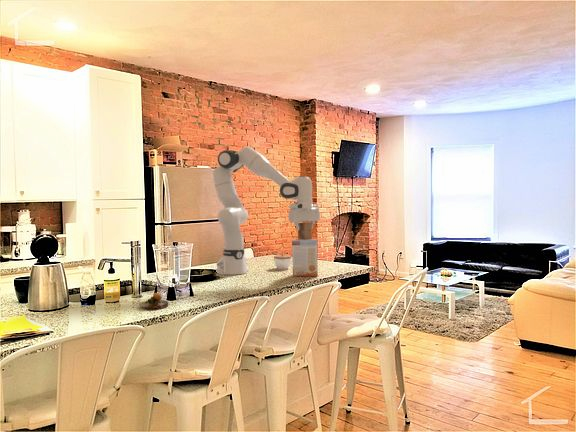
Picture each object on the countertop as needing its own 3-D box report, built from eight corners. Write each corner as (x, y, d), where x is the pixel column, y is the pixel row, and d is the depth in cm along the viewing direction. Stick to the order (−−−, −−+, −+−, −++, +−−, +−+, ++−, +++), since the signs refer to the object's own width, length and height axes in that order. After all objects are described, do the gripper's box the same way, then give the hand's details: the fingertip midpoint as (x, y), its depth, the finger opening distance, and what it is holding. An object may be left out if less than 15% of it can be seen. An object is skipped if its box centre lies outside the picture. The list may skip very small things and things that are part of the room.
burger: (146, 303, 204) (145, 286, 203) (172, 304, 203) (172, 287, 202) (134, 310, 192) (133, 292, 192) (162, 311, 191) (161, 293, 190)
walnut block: (298, 238, 265) (297, 222, 265) (304, 238, 268) (304, 222, 268) (304, 239, 260) (304, 223, 260) (311, 238, 263) (311, 222, 263)
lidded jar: (271, 269, 287) (271, 254, 287) (277, 266, 297) (276, 252, 297) (288, 270, 284) (288, 254, 283) (293, 267, 294) (293, 252, 294)
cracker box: (317, 274, 268) (317, 238, 267) (317, 276, 262) (317, 239, 261) (293, 274, 269) (292, 238, 268) (292, 276, 263) (292, 239, 262)
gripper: (314, 204, 272) (315, 228, 273) (286, 205, 260) (287, 230, 260) (322, 204, 267) (322, 228, 268) (293, 205, 255) (294, 230, 255)
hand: (304, 229), depth 264 cm, fingers open, 8 cm apart
